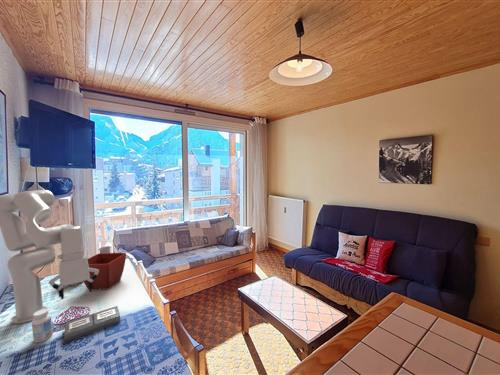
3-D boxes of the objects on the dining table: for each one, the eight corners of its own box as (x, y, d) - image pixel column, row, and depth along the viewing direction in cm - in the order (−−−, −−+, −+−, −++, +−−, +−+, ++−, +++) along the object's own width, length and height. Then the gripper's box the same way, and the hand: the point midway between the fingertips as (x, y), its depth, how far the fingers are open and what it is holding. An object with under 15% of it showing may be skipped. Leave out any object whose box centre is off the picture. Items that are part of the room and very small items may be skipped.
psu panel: (64, 341, 94) (64, 333, 94) (66, 329, 102) (65, 321, 102) (120, 321, 106) (120, 314, 106) (117, 311, 114) (117, 305, 114)
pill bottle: (51, 330, 102) (48, 306, 101) (54, 336, 98) (51, 311, 97) (32, 338, 97) (29, 313, 96) (35, 345, 93) (32, 318, 92)
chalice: (109, 270, 165) (107, 245, 164) (114, 272, 161) (112, 247, 160) (98, 274, 159) (96, 248, 157) (103, 276, 155) (101, 250, 154)
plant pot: (100, 277, 153) (98, 252, 152) (128, 277, 153) (126, 252, 151) (78, 292, 134) (75, 264, 133) (110, 292, 134) (107, 264, 132)
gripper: (45, 263, 91) (49, 305, 92) (97, 252, 101) (101, 290, 102) (47, 258, 97) (51, 297, 98) (96, 248, 107) (100, 284, 108)
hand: (76, 294), depth 100 cm, fingers open, 9 cm apart
